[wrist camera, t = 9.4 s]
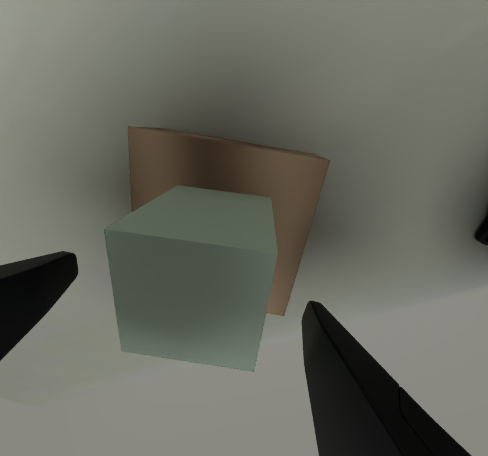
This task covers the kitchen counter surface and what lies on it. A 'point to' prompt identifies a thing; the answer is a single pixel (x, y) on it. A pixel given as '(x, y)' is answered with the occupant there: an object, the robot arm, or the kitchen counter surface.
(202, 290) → the sage cube
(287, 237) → the walnut block
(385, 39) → the kitchen counter surface
